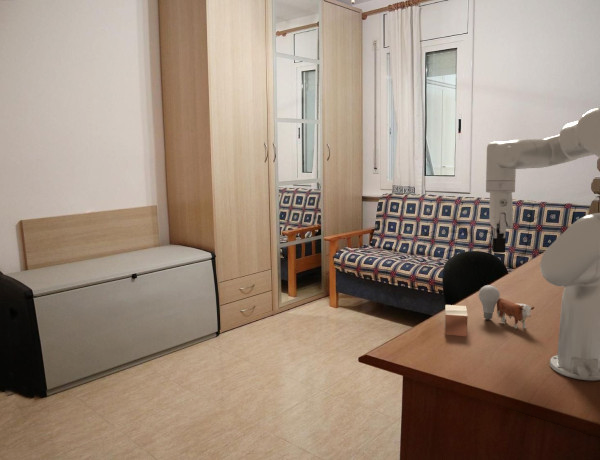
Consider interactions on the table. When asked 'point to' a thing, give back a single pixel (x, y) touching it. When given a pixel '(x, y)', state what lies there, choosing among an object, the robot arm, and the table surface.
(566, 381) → the table surface
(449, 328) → the birch block
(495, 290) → the lightbulb
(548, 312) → the table surface
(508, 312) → the bull figurine
